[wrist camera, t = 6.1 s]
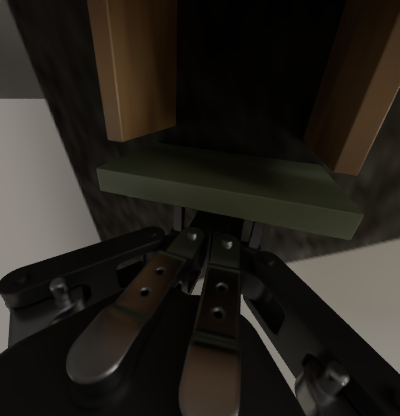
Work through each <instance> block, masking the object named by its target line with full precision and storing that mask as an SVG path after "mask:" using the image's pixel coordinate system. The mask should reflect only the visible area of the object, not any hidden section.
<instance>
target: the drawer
mask: <svg viewBox="0 0 400 416" xmlns="http://www.w3.org/2000/svg"><path fill="white" fill-rule="evenodd" d="M87 4H88V11H89V18H90V24H91V31H92V38H93V44H94V51H95V58H96V65H97V71H98V78H99V85H100V91H101V98H102V105H103V112H104V118H105V125H106V132H107V138H108V140H110V141H117V142H125V141H128V140H131V139H134V138H138V137H141V136H144V135H147V134H151V133H154V132H157V131H160V130H164V129H167V128H170V127H173V126H176V78H177V0H87ZM399 88H400V0H346V4H345V7H344V10H343V13H342V16H341V20H340V23H339V26H338V29H337V32H336V36H335V39H334V42H333V45H332V48H331V52H330V55H329V58H328V61H327V64H326V68H325V71H324V74H323V77H322V80H321V84H320V87H319V90H318V93H317V96H316V100H315V103H314V106H313V109H312V112H311V116H310V119H309V122H308V125H307V128H306V132H305V135H304V138H303V142H304V143H305V144H306V145H307V146H308V147H309V148H310V149H311V150H312V151H313V152H314V153H315V154H316V155H317V156H318V157H319V158H320V159H321V160H322V161H323V162H324V163H325V164H326V165H327V166H328V168H329V169H330V170H331V171H332V172H334V173H340V174H347V175H354V176H357V175H358V173H359V171H360V169H361V167H362V165H363V163H364V161H365V159H366V156H367V154H368V152H369V150H370V148H371V146H372V144H373V142H374V140H375V138H376V136H377V134H378V131H379V129H380V127H381V125H382V123H383V121H384V119H385V117H386V115H387V113H388V111H389V109H390V107H391V104H392V102H393V100H394V98H395V96H396V94H397V92H398V90H399ZM96 170H97V175H98V180H99V186H100V190H101V191H106V192H111V193H116V194H121V195H126V196H131V197H136V198H141V199H146V200H151V201H156V202H161V203H166V204H171V205H174V220H173V228H172V229H171V231H170V234H169V235H178V234H179V232H180V231H181V230H182V229H184V220H185V207H186V208H191V209H196V210H201V211H206V212H211V213H216V214H221V215H226V216H231V217H236V218H241V219H246V220H251V221H254V222H253V226H252V230H251V234H250V239H249V242H245V241H240V242H241V245H242V247H243V248H244V249H245V250H246V251H248V252H250V253H252V254H255V253H256V252H259V251H261V246H260V245H259V243H260V239H261V236H262V232H263V229H264V225H265V223H266V224H271V225H276V226H281V227H286V228H291V229H296V230H301V231H306V232H311V233H316V234H321V235H326V236H331V237H336V238H341V239H346V240H351V238H352V236H353V234H354V232H355V231H356V229H357V227H358V225H359V223H360V222H361V220H362V218H363V216H364V215H363V213H362V212H361V211H360V210H359V209H358V208H357V207H356V205H355V204H354V203H353V202H352V201H351V200H350V198H349V197H348V196H347V195H346V194H345V193H344V192H343V190H342V189H341V188H340V187H339V186H338V185H337V184H336V182H335V181H334V180H333V179H332V178H331V177H330V176H329V174H328V173H327V172H326V171H325V170H324V169H323V168H322V166H321V165H317V164H310V163H302V162H295V161H288V160H280V159H273V158H266V157H259V156H251V155H244V154H237V153H230V152H222V151H215V150H208V149H201V148H193V147H186V146H179V145H171V144H164V143H155V144H153V145H151V146H148V147H146V148H143V149H141V150H139V151H136V152H134V153H131V154H129V155H126V156H124V157H122V158H119V159H117V160H114V161H112V162H110V163H107V164H105V165H102V166H100V167H98V168H96Z"/></svg>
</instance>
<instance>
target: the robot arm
mask: <svg viewBox="0 0 400 416" xmlns="http://www.w3.org/2000/svg"><path fill="white" fill-rule="evenodd" d="M243 222H244V219H241V218H236V217H231V216H226V215H221V214H216V213H211V212H206V211H201V210H198V212H197V214H196V215H195V217H194V219H193V221H192V222H191V224H190V226H189V227H187V228H184V229H182V230H181V231H180V232H179V234H178V235H165V232H164V230H163V229H161V228H159V227H147V228H144V229H141V230H137V231H134V232H131V233H128V234H125V235H122V236H119V237H115V238H112V239H109V240H106V241H103V242H100V243H97V244H94V245H90V246H87V247H84V248H81V249H78V250H75V251H72V252H68V253H65V254H62V255H59V256H56V257H53V258H49V259H46V260H43V261H40V262H37V263H34V264H31V265H27V266H24V267H21V268H19V269H16V270H14V271H12V272H10V273H8V274H7V275H6V276H4V277H3V278H2V279H1V280H0V295H1V296H2V298H3V299H4V301H5V305H6V307H7V308H8V310H9V311H10V324H9V340H8V348H7V349H6V350H5V351H3V352H2V353H1V354H0V416H400V374H399V373H398V372H397V371H396V370H395V369H394V368H393V367H392V366H391V365H389V364H388V363H387V362H386V361H385V360H384V359H383V358H382V357H381V356H380V355H379V354H378V353H377V352H376V351H375V350H374V349H373V348H372V347H371V346H370V345H369V344H368V343H367V342H366V341H365V340H364V339H363V338H362V337H361V336H359V335H358V334H357V333H356V332H355V331H354V330H353V329H352V328H351V327H350V326H349V325H348V324H347V323H346V322H345V321H344V320H343V319H342V318H341V317H340V316H339V315H338V314H336V312H335V311H334V310H333V309H332V308H330V307H329V306H328V305H327V304H326V303H325V302H324V301H323V300H322V299H321V298H320V297H319V296H318V295H317V294H316V293H315V292H314V291H313V290H312V289H311V288H310V287H309V286H308V285H307V284H306V283H305V282H303V281H302V279H300V278H299V277H298V276H297V275H296V274H295V273H294V272H293V271H292V270H291V269H290V268H289V267H288V266H287V265H286V264H285V263H284V262H283V261H282V260H281V259H280V258H279V257H278V256H276V255H275V254H273V253H270V252H267V251H259V252H256V253H255V254H252V253H250V252H248V251H246V250H245V249H244V248H243V247H242V245H241V242H240V241H241V234H242V228H243ZM138 256H141V260H142V261H139V262H137V263H134V264H132V265H129V266H127V267H125V268H122V269H120V270H116V269H117V267H118V265H119V264H121V263H123V262H125V261H128V260H130V259H133V258H135V257H138ZM204 263H207V264H208V265H207V270H206V274H205V279H204V283H203V287H202V292H201V295H191V294H192V291H193V289H194V287H195V285H196V283H197V281H198V279H199V276H200V274H201V269H202V267H203V264H204ZM241 294H242V295H243V298H244V301H245V303H246V304H247V306H248V307H249V309H250V310H251V312H252V313H253V315H254V316H255V318H256V319H257V321H258V322H259V324H260V325H261V327H262V328H263V330H264V331H265V333H266V334H267V336H268V337H269V339H270V340H271V342H272V344H273V345H274V347H275V348H276V350H277V351H278V353H279V354H280V356H281V357H282V359H283V360H284V362H285V363H286V365H287V366H288V368H289V369H290V371H291V372H292V374H293V375H294V376H295V378H296V381H295V394H296V397H295V395H294V394H293V392H292V390H291V389H290V387H289V385H288V384H287V382H286V380H285V378H284V377H283V375H282V373H281V372H280V370H279V368H278V367H277V365H276V363H275V362H274V360H273V358H272V356H271V355H270V353H269V351H268V350H267V348H266V346H265V345H264V343H263V341H262V340H261V338H260V336H259V334H258V333H257V331H256V330H255V328H254V327H253V326H252V324H251V323H250V322H249V321H248V320H247V319H246V318H245V317H244V316H243V315H241V314H240V306H241V305H240V303H241ZM296 398H297V399H296Z"/></svg>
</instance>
